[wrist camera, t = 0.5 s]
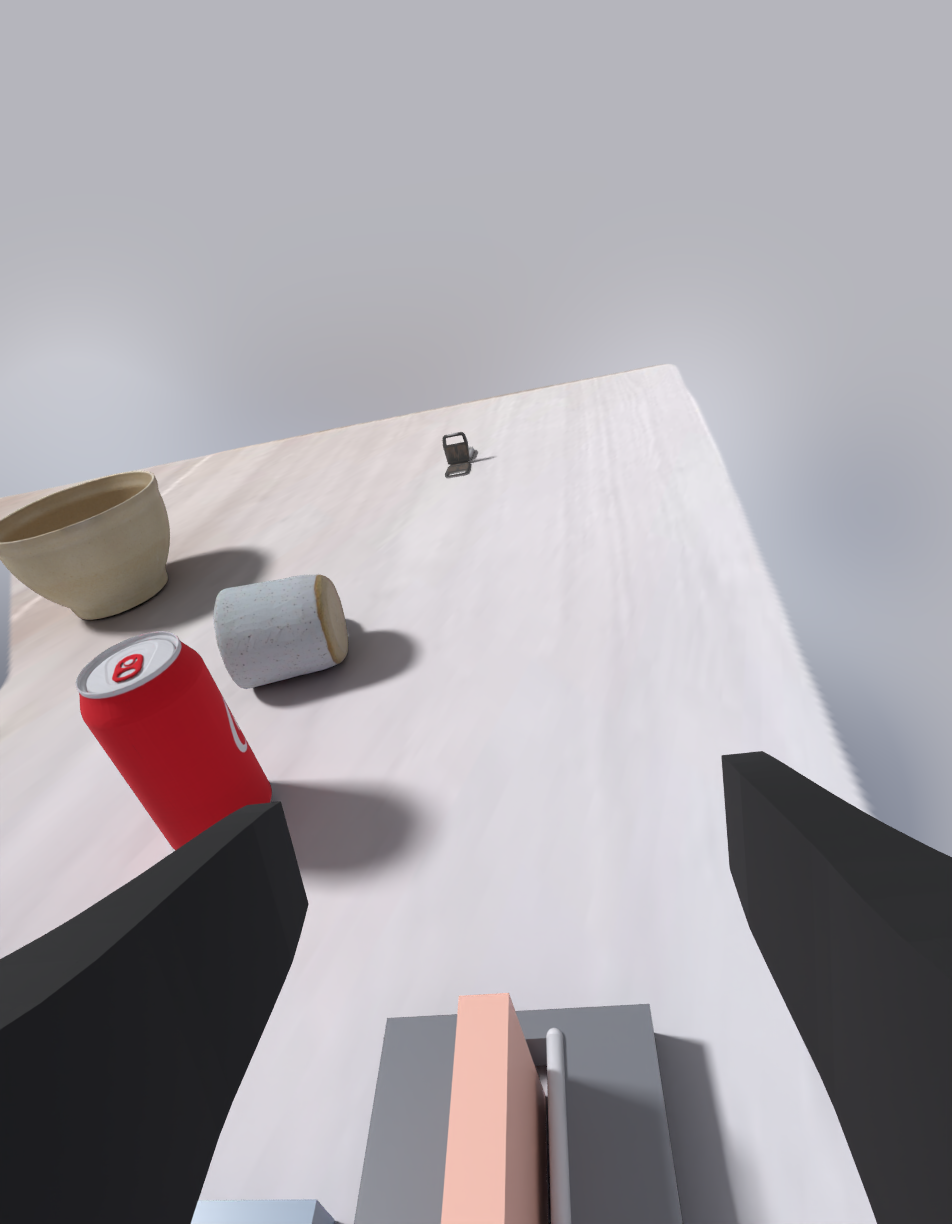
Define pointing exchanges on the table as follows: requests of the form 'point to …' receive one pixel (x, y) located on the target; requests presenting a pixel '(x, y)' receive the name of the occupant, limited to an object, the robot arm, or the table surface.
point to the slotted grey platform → (577, 1115)
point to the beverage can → (170, 734)
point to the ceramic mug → (280, 629)
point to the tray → (260, 1212)
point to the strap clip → (457, 456)
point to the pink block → (494, 1121)
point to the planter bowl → (92, 544)
